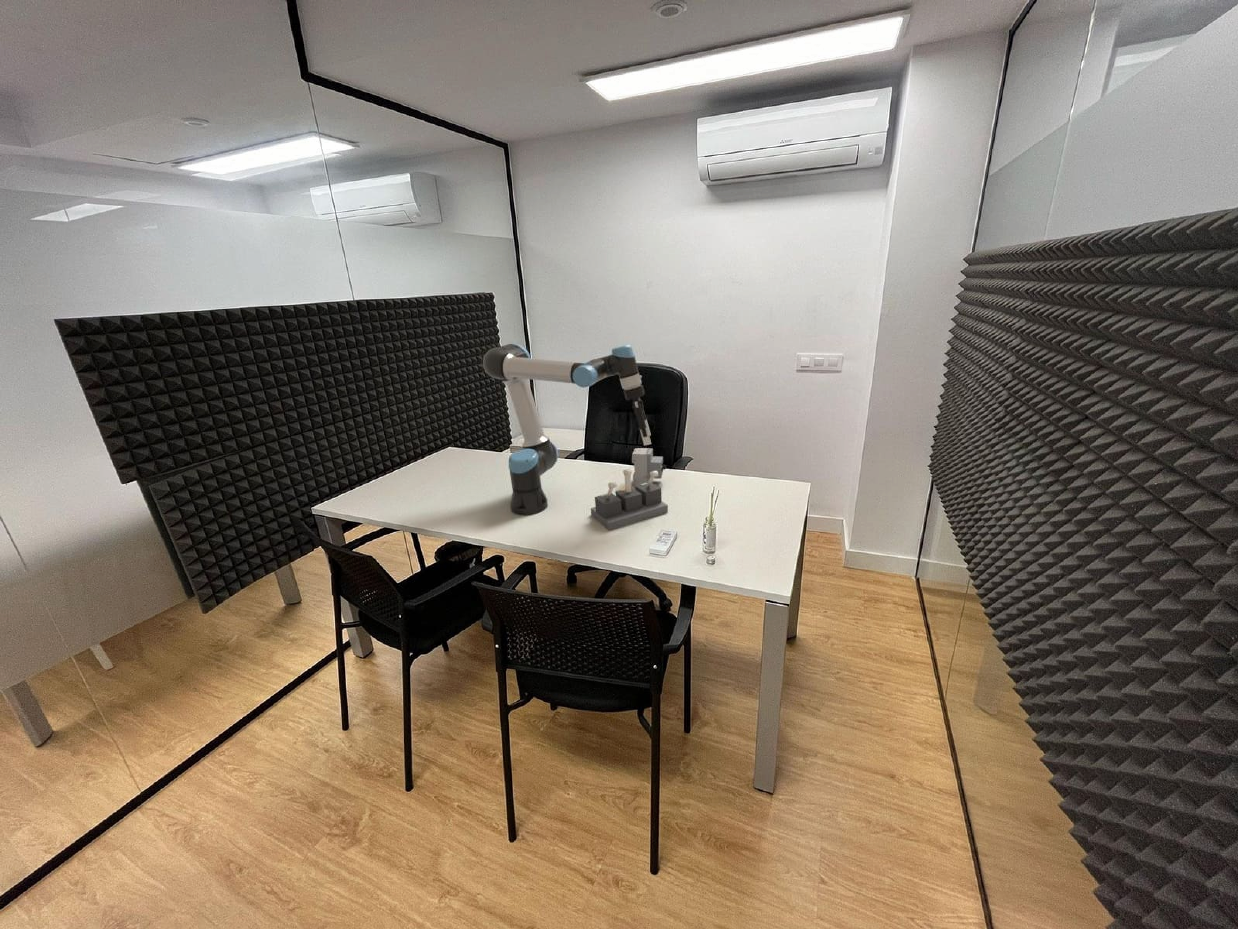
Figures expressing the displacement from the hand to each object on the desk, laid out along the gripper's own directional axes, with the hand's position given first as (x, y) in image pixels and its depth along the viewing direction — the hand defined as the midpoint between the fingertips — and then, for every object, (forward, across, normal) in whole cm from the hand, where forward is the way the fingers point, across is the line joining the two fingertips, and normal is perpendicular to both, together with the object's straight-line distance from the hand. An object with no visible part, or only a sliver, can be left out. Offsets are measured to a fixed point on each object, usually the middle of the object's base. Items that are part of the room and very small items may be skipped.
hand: (647, 440), depth 185 cm
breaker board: (+25, -6, +14) cm, 30 cm away
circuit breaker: (+25, +24, +6) cm, 36 cm away
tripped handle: (+16, -6, +12) cm, 21 cm away
